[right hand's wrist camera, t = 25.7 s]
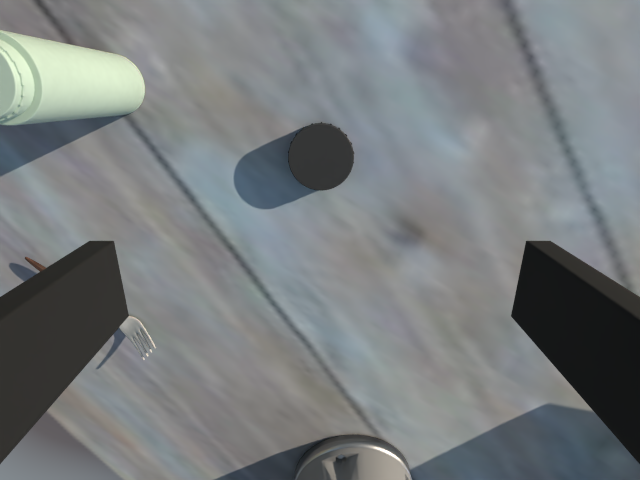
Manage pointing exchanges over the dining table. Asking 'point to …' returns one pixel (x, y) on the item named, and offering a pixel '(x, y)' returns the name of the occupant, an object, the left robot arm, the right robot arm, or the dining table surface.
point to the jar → (63, 82)
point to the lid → (321, 156)
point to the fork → (128, 326)
